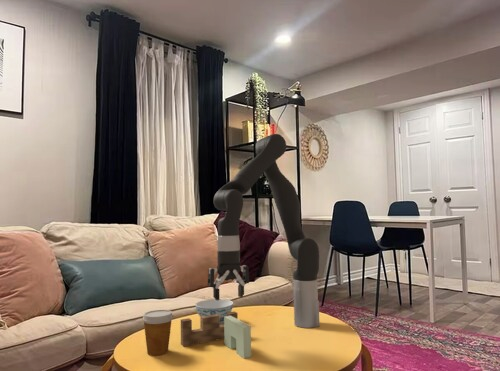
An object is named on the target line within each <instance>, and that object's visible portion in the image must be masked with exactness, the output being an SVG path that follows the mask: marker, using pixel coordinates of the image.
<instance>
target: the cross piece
mask: <svg viewBox="0 0 500 371" xmlns="http://www.w3.org/2000/svg"><path fill="white" fill-rule="evenodd" d="M223 325H224V339H223V341H224V346H226V347H227V348H229V349H230V350H233V349H236V350H235V351H236V354H237V355H238V356H240V357H241V358H242V359H249V358H252V335H251V334H252V332H251V325H250V324H247V323H246V322H244V321H241V320H240V319H239V318H238V319H236V318H234V317H233V316H225V317H224V321H223Z"/></svg>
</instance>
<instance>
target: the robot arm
mask: <svg viewBox="0 0 500 371" xmlns="http://www.w3.org/2000/svg"><path fill="white" fill-rule="evenodd" d="M286 150H287V142H286V140H285V138H284V137H283V136H282V135H281V134H279V133H273V134H269V135H267V136H265V137H262V138H261V139H258V140H257V141H256V143H255V153H256V156H255V157H253V159H251V160H250V161H249V162H247V164H245V165H244V166H243V167H241V169H240V170H239V171H238V172H237V173H236V174H235V176H234V177H233V178H231V180H230V181H228V182H227V183H226V184H224V185H223V186H222V187H220V188H219V189H218V191H216V193H215V194H214V196H213V205H214V208H215V209H216V210H218V211H225V215H224V217H221V218H219V220H218V221H217V243H216V245H217V246H216V247H217V251H216V252H217V253H216V254H217V266H216V267H215V268H214V267H208V269H207V286H208V287H210V288H212V292H213V296H212V297H213V299H215V300H219V299H220V286H221V285H222V284H223V283H224V281H226V282H227V281H234V280H235V281H236V283H237V284H238V285H237V292H238V293H237V296H238V298H243V296H244V295H245V285H247V284H249V283H250V271H249V265H245V264H243V265H240V264H241V245H240V244H241V242H240V232H239V230H240V226H239V225H240V221H241V218H242V217H241V216H242V211H243V208H244V197H243V195H246V194H247V193H248V192H249V191H250V190H251V189H252V188H253V186H254V185H255V184H256V182H257V181H258V180H259V178H260V177H261V176H263V174H265V177H266V178H267V182H268V186H269V188H270V191H271V193H272V197H273V200H274V203H275V206H276V210H277V212H278V214H279V218H280V221H281V223H282V227H283V229H284V232H285V238H286V241H287V245H288V252H289V254H290V255H291V257H292V258H293V259H295V260H296V261H297V262H296V264H297V265H296V270H295V271H293V274H292V280H293V285H292V286H293V313H294V314H293V317H294V318H293V320H294V326H297V327H298V328H305V329H307V328H308V329H309V328H316V327H320V301H319V298H318V297H319V295H318V292H319V291H318V274H319V272H320V271H319V270H320V251H319V250H320V249H319V245H318V243H317V242H316V240H314V239H313V238H310V237H309V238H308V237H306V236H305V234H304V231H303V228H302V224H301V204H300V199H299V196H298V192H297V189H296V188H295V186H294V185H293V183H292V182H291V181H290V180H289V179H288V178H287V177H286V176H285V175H284V174H283V173H282V172H281V170H280V169H279V166H278V164H277V160H278V159H279V158H281V157H282V156H283V155H284V154H285V153H286ZM240 272H242V277H241V275H240ZM216 274H218V275H217V276H216V278H215V275H216Z"/></svg>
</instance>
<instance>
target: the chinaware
mask: <svg viewBox="0 0 500 371" xmlns="http://www.w3.org/2000/svg"><path fill="white" fill-rule="evenodd" d="M233 308H234V302H233V301H232V300H230V299H222V298H219V300H215V298H213V299H206V300H205V299H204V300H200V301H198V302H196V303H195V309H196V313H197V314H198V317H199V318H200V317H201V316H207V315H214V314H217V315H219V325H224V317H225V316H227V312H233Z"/></svg>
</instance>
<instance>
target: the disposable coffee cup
mask: <svg viewBox="0 0 500 371" xmlns="http://www.w3.org/2000/svg"><path fill="white" fill-rule="evenodd" d="M173 318H174V315H173V312H172V310H169V309H154V310H153V309H152V310H149V311H147V312H144V313H143V317H142V322H143V324H144V325H143V326H144V334H145V343H146V344H145V345H146V351H147V352H146V353H147V354H148V356H151V357H155V356H156V357H157V356H162V355H163V356H164V355H165V354H167V353H168V352H169V347H170V346H169V344H170V338H171V336H170V335H171V327H172V320H173Z"/></svg>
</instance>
